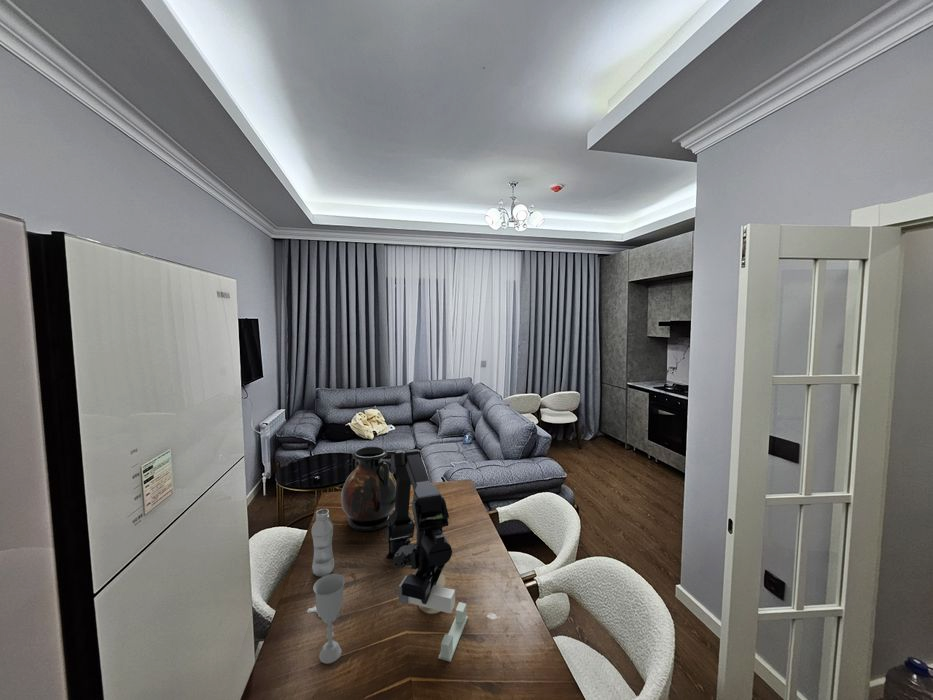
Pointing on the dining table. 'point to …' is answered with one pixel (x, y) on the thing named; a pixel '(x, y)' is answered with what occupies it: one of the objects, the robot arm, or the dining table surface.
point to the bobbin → (439, 583)
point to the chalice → (329, 611)
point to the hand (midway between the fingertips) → (427, 598)
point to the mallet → (433, 598)
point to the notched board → (453, 634)
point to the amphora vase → (369, 490)
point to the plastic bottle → (322, 544)
